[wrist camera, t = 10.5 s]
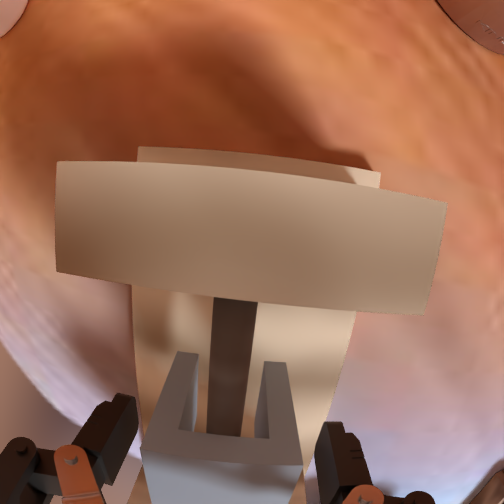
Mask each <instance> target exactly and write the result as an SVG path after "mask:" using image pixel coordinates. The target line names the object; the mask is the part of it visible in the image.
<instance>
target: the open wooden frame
mask: <svg viewBox="0 0 504 504" xmlns="http://www.w3.org/2000/svg"><path fill="white" fill-rule="evenodd" d="M503 501H504V469H503V470H502V471H500V472H497V473H496V474H495V475H494V476H493V477H492V479H491V480H490V481H489V482H488V483H487V485H486V486H485V487H484V488H483V489H482V490H481V491H480V493H479V494H478V495H477V496H476V497H475V498H474V499H473V500H472V501H471V502H470V504H504V502H503ZM502 502H503V503H502Z"/></svg>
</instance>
